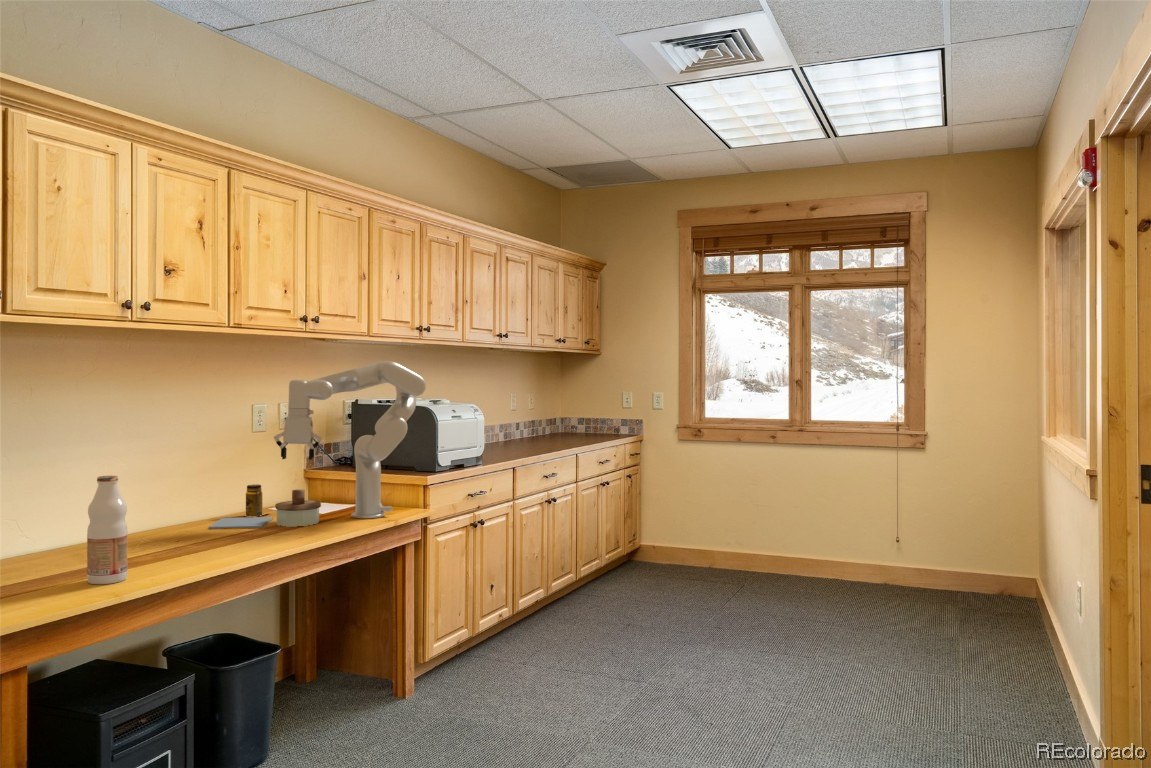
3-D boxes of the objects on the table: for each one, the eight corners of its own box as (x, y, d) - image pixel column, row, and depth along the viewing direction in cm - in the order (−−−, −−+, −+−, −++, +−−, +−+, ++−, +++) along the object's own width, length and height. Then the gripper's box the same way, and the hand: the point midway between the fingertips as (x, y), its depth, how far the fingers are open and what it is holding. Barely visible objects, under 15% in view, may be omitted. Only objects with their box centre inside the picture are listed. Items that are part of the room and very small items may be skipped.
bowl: (320, 519, 316) (320, 503, 316) (314, 526, 302) (314, 509, 302) (282, 520, 314) (282, 504, 314) (274, 527, 300) (274, 510, 300)
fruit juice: (91, 587, 216) (92, 479, 216) (83, 580, 223) (83, 476, 223) (131, 581, 223) (132, 476, 222) (121, 574, 230) (122, 473, 229)
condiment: (240, 516, 320) (240, 485, 320) (256, 513, 328) (256, 483, 328) (255, 518, 318) (256, 486, 318) (271, 514, 326) (271, 484, 326)
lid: (323, 503, 317) (324, 487, 317) (317, 510, 301) (317, 493, 301) (280, 503, 315) (280, 487, 315) (271, 510, 299) (271, 493, 299)
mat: (272, 519, 315) (272, 517, 315) (261, 528, 298) (261, 526, 298) (222, 520, 313) (222, 517, 313) (208, 529, 295) (208, 526, 295)
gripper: (324, 413, 313) (323, 458, 313) (277, 412, 312) (276, 457, 312) (320, 414, 306) (319, 460, 306) (272, 412, 304) (270, 459, 304)
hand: (297, 459), depth 309 cm, fingers open, 9 cm apart
